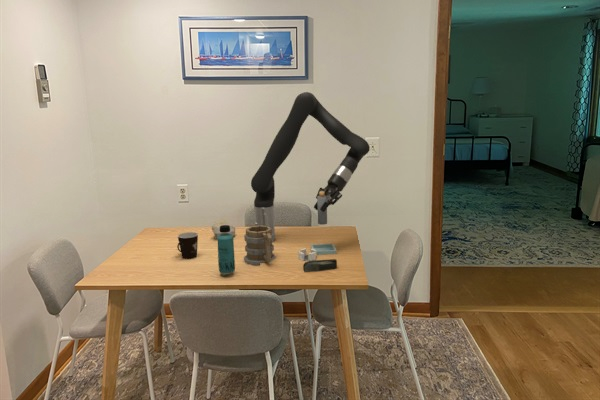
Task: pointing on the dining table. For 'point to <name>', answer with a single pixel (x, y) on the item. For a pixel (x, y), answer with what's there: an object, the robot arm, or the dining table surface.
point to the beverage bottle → (226, 251)
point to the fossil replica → (217, 228)
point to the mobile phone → (319, 265)
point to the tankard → (259, 245)
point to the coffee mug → (188, 245)
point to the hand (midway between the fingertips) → (318, 209)
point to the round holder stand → (304, 257)
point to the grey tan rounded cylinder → (320, 201)
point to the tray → (324, 249)
